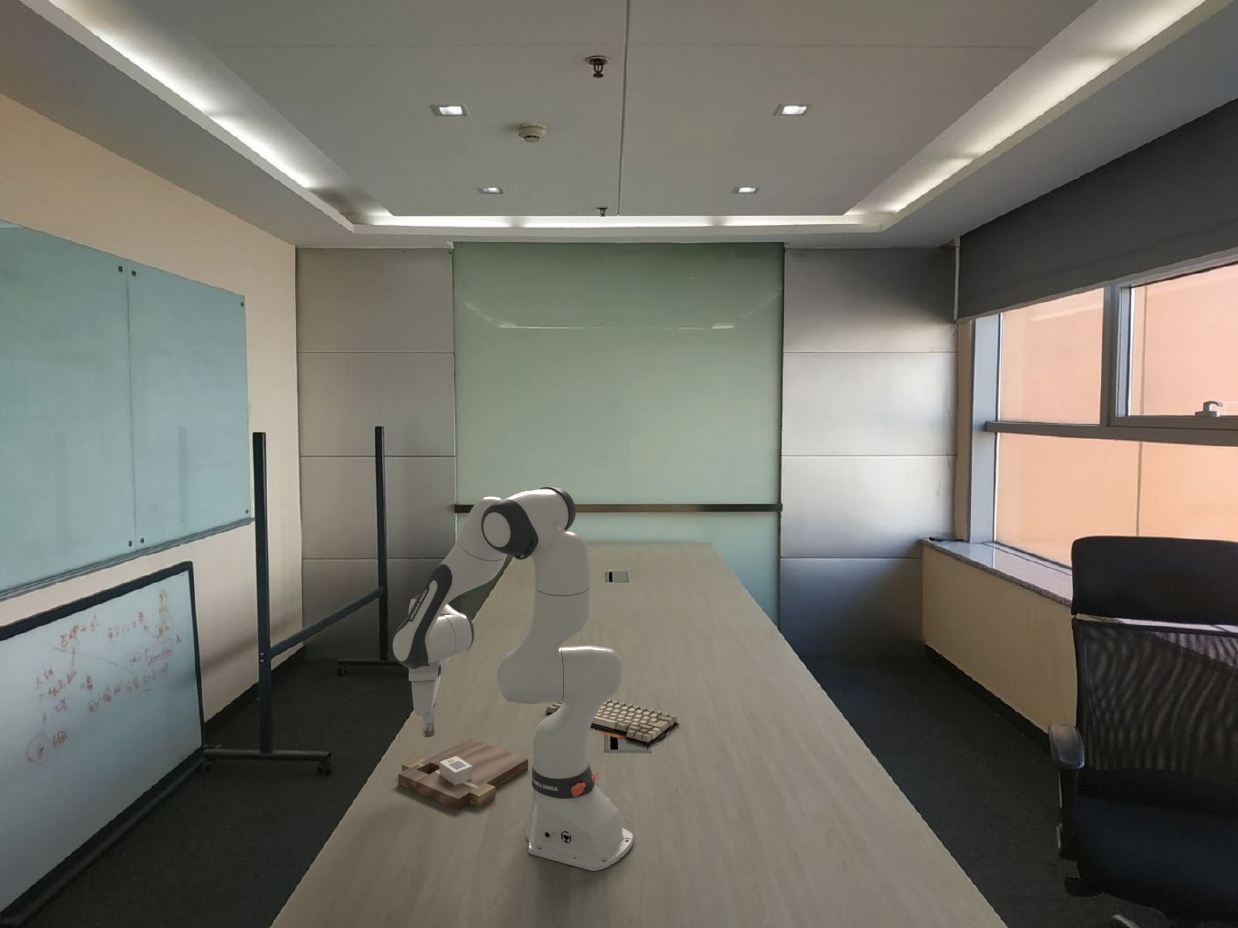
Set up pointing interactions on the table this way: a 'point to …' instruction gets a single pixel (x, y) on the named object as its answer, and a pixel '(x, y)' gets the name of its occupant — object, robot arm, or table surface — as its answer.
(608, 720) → the mechanical keyboard
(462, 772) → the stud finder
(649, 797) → the table surface
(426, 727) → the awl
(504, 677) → the robot arm
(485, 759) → the board
